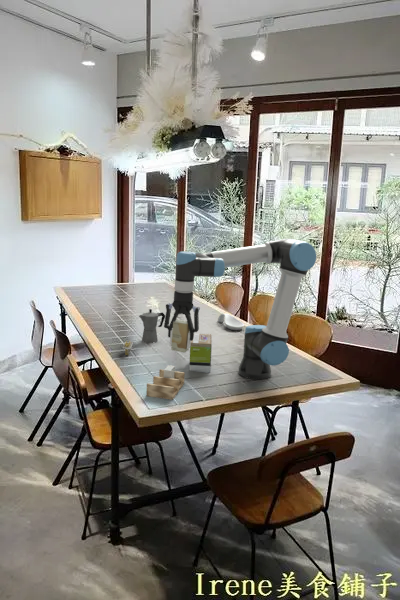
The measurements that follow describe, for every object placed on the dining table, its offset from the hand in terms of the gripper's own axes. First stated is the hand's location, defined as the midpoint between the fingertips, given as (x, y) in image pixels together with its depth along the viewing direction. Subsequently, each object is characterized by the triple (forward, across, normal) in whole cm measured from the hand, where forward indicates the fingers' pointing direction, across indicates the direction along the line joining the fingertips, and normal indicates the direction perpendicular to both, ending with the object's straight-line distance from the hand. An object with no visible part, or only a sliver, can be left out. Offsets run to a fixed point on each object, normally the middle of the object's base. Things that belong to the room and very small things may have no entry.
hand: (180, 346), depth 191 cm
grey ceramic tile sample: (+19, +5, -3) cm, 20 cm away
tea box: (+20, -2, -32) cm, 37 cm away
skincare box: (+2, 0, 0) cm, 2 cm away
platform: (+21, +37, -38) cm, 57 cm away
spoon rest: (+19, -3, -108) cm, 110 cm away
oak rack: (+20, +4, +1) cm, 21 cm away
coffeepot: (+20, +33, -62) cm, 74 cm away
